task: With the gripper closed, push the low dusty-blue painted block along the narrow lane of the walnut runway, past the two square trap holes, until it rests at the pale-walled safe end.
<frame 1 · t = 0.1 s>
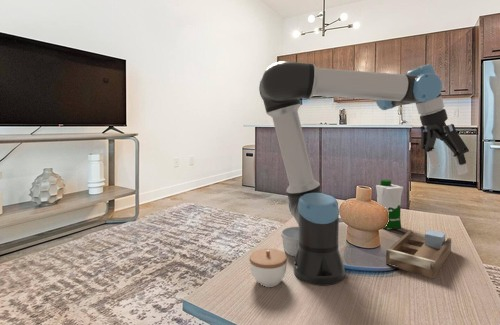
hand: (448, 170, 97), 28 cm above the table, tool tilted 20°, fingers open, 13 cm apart
ramekin: (300, 251, 102), on the table
milk carton: (388, 227, 123), on the table
blue block: (434, 244, 97), point 2 cm above the table, touching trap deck
lidded jar: (268, 282, 82), on the table
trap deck: (419, 257, 94), on the table
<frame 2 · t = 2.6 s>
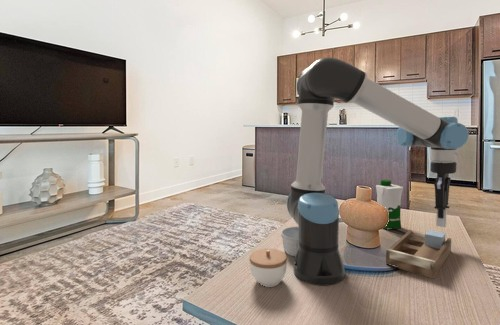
hand: (441, 226, 102), 7 cm above the table, tool pointing down, fingers closed
nothing on the table moved.
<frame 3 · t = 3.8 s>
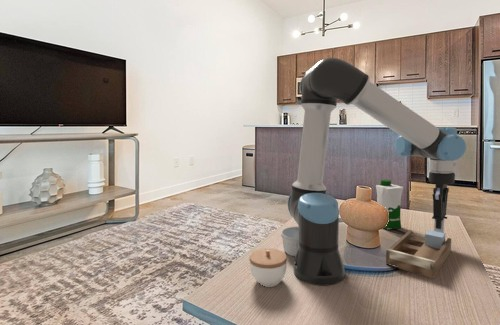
hand: (438, 236, 102), 4 cm above the table, tool pointing down, fingers closed
nothing on the table moved.
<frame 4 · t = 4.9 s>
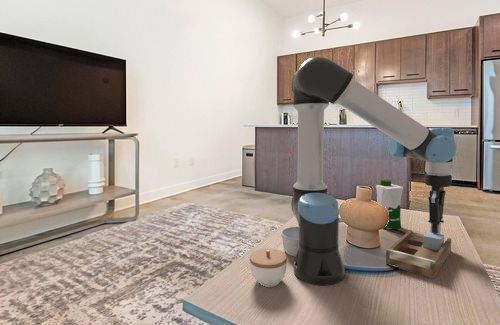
hand: (435, 240, 98), 4 cm above the table, tool pointing down, fingers closed
blue block: (433, 246, 96), point 3 cm above the table, touching gripper
everything else where it was.
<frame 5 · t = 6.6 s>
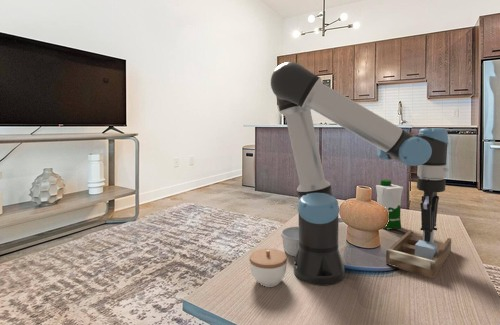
hand: (427, 249, 91), 4 cm above the table, tool pointing down, fingers closed
blue block: (425, 256, 89), point 2 cm above the table, touching gripper, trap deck
everything else where it was.
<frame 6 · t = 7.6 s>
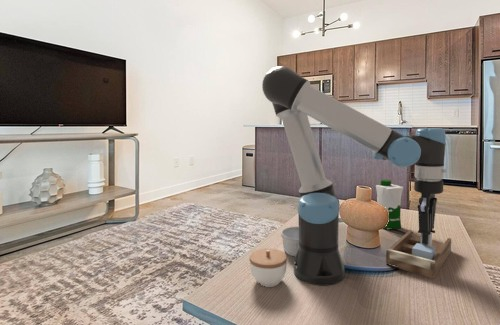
hand: (425, 252, 89), 4 cm above the table, tool pointing down, fingers closed
blue block: (423, 260, 87), point 2 cm above the table, touching gripper, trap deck
everything else where it was.
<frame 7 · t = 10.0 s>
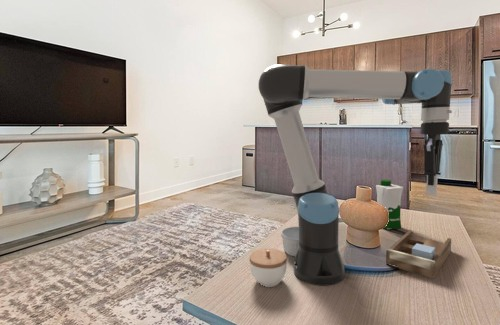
hand: (431, 194, 92), 21 cm above the table, tool pointing down, fingers closed
blue block: (423, 260, 86), point 2 cm above the table, touching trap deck
everything else where it was.
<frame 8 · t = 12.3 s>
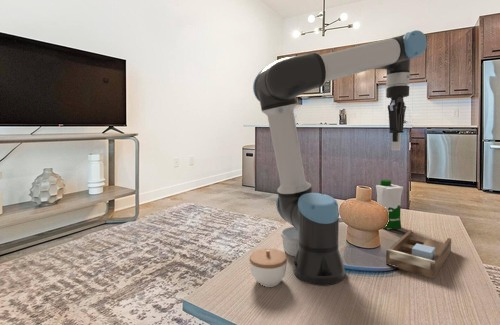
hand: (395, 150, 106), 34 cm above the table, tool pointing down, fingers closed
nothing on the table moved.
at the end: blue block 0.1 cm from the target spot, point 2.5 cm above the table; blue block tilted 0° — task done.
